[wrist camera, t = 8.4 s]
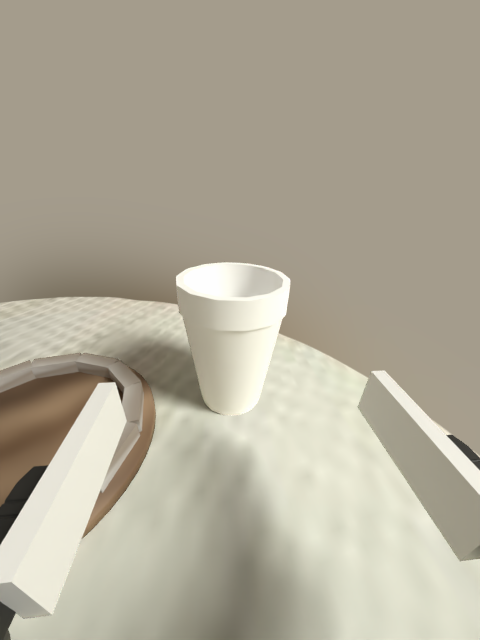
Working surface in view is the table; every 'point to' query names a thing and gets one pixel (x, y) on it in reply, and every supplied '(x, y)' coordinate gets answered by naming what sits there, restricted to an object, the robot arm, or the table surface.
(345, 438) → the table surface
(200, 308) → the foam cup
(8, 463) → the plate
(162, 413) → the table surface
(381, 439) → the robot arm
